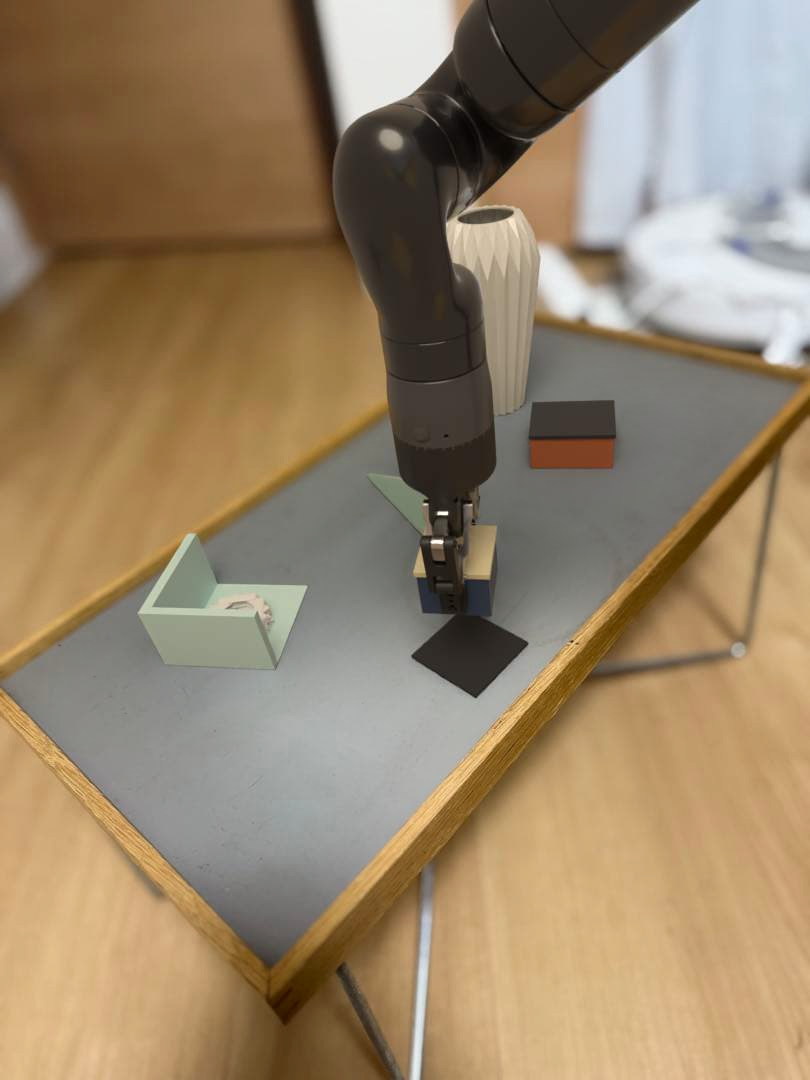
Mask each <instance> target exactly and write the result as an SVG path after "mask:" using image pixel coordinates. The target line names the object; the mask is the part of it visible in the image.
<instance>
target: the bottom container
mask: <svg viewBox="0 0 810 1080" xmlns="http://www.w3.org/2000/svg"><path fill="white" fill-rule="evenodd" d="M615 406H616V404H615V400H614V399H601V400H600V399H599V400H596V399H595V400H566V401H565V400H560V401H559V400H558V401H555V400H554V401H532V403H531V410H530V418H529V425H528V426H529V427H528V437H527V438H528V440H529V444H530V447H529V448H530V469H613V468H614V467H613V466H614V465H613V464H614V452H615V451H614V449H615V439H617V423H616V422H617V421H616V407H615Z"/></svg>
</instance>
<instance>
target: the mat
mask: <svg viewBox="0 0 810 1080" xmlns="http://www.w3.org/2000/svg"><path fill="white" fill-rule="evenodd" d="M528 645H529V641H527V640H526V639H524V638H522V637H520V636H518V635H516V634H514V633H512V632H510V631H509V630H508V629H505V628H504V627H502V626H499V625H498V624H496V623H494V622H493V621H490V620H488V619H486V618H484V616H471V615H453V616H452V617H451V618H450V619H449V620H448V621H447V622H446V623H444V624H443V626H442V627H440V628H439V629H438V630H437V631H436V632H435V633H434V634H433V635H432V636H430V638H428V639H427V640H426V641H425V642H424V643H423V644H422V645H421V646H419V648H418V649H416V650H415V651H414V652H413V653H412V654H411V655H410V657H411V659H412V660H414V661H416V662H417V663H419V664H420V665H422V666H424V667H425V668H427V669H429V671H432V672H433V673H435V674H437V675H438V676H439V677H441V678H442V679H444V680H446V681H447V682H449V683H450V684H452V685H454V686H456V687H457V688H459V689H460V690H462V691H463V692H465V693H467V694H469V696H471V697H473V698H475V699H477V698H478V697H479V696H480V695H481V694H482V693H483V692H484V691H485V690H486V689H487V688H488V687H489V686H490V685H491V684H492V683H493V682H494V681H495V679H496V678H497V677H498V676H499V675H500V674H502V672H503V671H504V670H505V669H506V668H507V667H508V666H509V665H510V664H511V662H513V661H514V660H515V659H516V658H517V657H518V656H519V655H520V654H521V652H523V650H525V648H526V647H527V646H528Z"/></svg>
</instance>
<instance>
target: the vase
mask: <svg viewBox="0 0 810 1080" xmlns="http://www.w3.org/2000/svg"><path fill="white" fill-rule="evenodd" d="M532 227H533V226H531V224H530V222H529V221H528V219H527V218H526V216H525V214H524V212H523V211H522V210H521V208H519V207H515V205H509V206H508V205H507V204H502V205H498V204H493V205H487V204H486V205H483V206H474V207H473V208H467V209H466V210H465V211H464V212H462V213H461V214H459V215H458V216H457V217H455V218H454V219H452V220H451V221H449V222H448V223H447V224H446V234H447V241H448V246H449V250H450V254H451V258H452V262H453V263H457V264H460V265H463V266H465V267H466V268H468V269H470V270H471V271H472V272H473V273H474V274H475V276H476V278H477V280H478V282H479V284H480V288H481V293H482V300H483V308H484V321H485V337H486V354H487V362H488V367H489V371H490V376H491V382H492V392H493V409H494V417H495V418H497V417H499V416H500V415H501V416H504V417H505V416H507V414H514V411H519V410H520V408H521V407H523V406H524V403H525V400H526V393H527V392H526V391H527V382H528V375H529V365H530V357H531V356H530V355H531V348H532V340H533V339H532V338H533V330H534V321H535V311H536V302H537V297H538V296H537V294H538V285H539V277H540V267H541V266H540V265H541V260H542V259H541V258H542V257H541V254H540V250H539V247H538V242H537V240H536V236H535V231H534V229H533V228H532Z"/></svg>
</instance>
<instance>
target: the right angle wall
mask: <svg viewBox="0 0 810 1080" xmlns="http://www.w3.org/2000/svg"><path fill="white" fill-rule="evenodd" d="M308 587H309V586H308V585H307V584H305V585H303V584H302V585H301V584H299V585H298V584H253V583H251V584H249V583H248V584H247V583H246V584H245V583H243V584H242V583H218V580H217V579H216V576H215V574H214V572H213V569H212V567H211V564H210V562H209V560H208V558H207V554H206V552H205V550H204V547H203V545H202V543H201V541H200V539H199V536H198V533H190V532H189V533H187V534H186V535H185V537H184V538H183V540H182V542H181V543H180V545H179V547H178V548H177V550H176V551H175V553H174V555H173V556H172V558H171V559H170V561H169V563H168V564H167V565H166V568H165V569H164V571H163V572H162V574H161V575H160V577H159V578H158V580H157V581H156V583H155V584H154V587H153V588H152V590H151V591H150V593H149V594H148V596H147V598H146V599H145V601H144V602H143V604H142V606H141V607H140V609H139V610H138V612H137V615H138V617H139V619H140V621H141V623H142V624H143V626H144V628H145V630H146V632H147V634H148V635H149V637H150V639H151V641H152V643H153V644H154V647H155V648H156V650H157V652H158V654H159V656H160V658H161V660H162V662H163V663H164V665H165V666H181V667H182V666H183V667H207V668H225V669H227V668H228V669H245V670H246V669H247V670H248V669H249V670H269V671H275V670H276V668H277V666H278V664H279V661H280V658H281V655H282V653H283V650H284V649H285V646H286V643H287V640H288V638H289V635H290V632H291V630H292V629H293V628H292V627H293V625H294V622H295V620H296V617H297V614H298V612H299V610H300V607H301V605H302V603H303V600H304V597H305V594H306V592H307V589H308Z"/></svg>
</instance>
